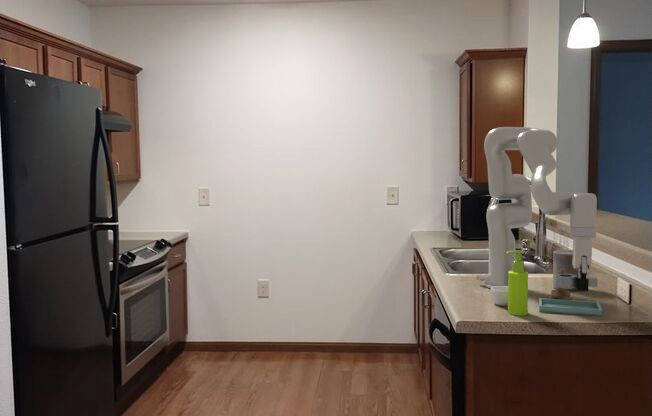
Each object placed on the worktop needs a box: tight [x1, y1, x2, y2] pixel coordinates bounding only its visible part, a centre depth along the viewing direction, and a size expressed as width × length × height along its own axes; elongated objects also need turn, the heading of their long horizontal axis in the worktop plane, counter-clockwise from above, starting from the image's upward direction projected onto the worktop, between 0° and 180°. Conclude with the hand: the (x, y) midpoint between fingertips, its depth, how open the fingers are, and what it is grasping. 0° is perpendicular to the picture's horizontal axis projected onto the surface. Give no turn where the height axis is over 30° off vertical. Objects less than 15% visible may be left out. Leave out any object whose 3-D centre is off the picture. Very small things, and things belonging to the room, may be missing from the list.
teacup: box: [490, 286, 508, 307], centre depth 191 cm, size 10×8×5 cm
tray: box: [538, 297, 603, 317], centre depth 182 cm, size 18×10×2 cm, turn 70°
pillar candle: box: [552, 248, 578, 292], centre depth 210 cm, size 10×10×15 cm
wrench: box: [555, 274, 598, 289], centre depth 180 cm, size 12×6×4 cm, turn 70°
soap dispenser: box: [505, 249, 529, 317], centre depth 178 cm, size 6×7×20 cm
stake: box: [547, 269, 574, 300], centre depth 191 cm, size 8×8×11 cm
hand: (582, 289), depth 180 cm, fingers closed on wrench, 2 cm apart
